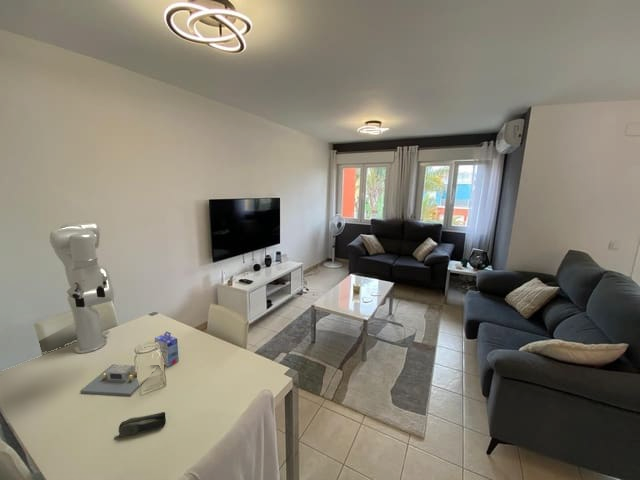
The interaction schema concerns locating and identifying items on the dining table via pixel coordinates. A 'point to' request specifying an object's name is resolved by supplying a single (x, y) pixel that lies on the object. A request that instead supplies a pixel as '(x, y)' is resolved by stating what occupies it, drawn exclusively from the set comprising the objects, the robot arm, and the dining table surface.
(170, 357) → the ink cartridge box
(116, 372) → the block
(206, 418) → the dining table surface
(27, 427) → the dining table surface
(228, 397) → the dining table surface
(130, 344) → the dining table surface
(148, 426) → the mobile phone
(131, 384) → the pin tray
